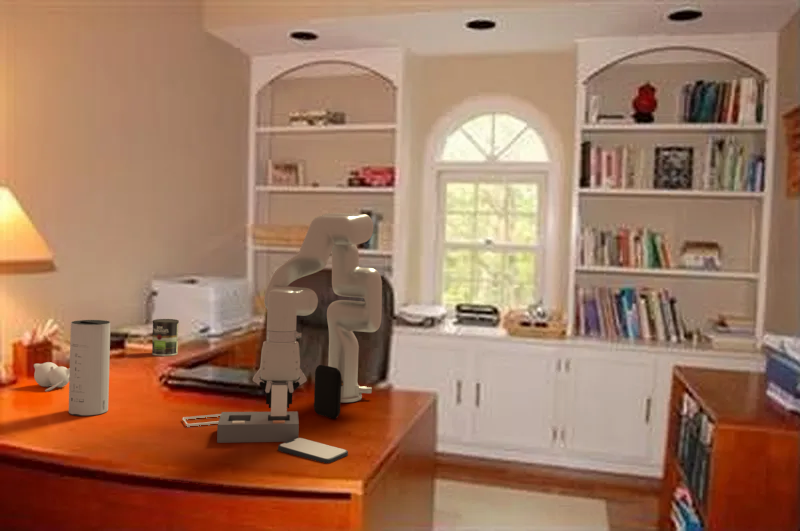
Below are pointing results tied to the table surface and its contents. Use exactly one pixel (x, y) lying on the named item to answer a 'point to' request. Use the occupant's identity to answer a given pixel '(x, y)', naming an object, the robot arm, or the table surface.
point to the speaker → (89, 367)
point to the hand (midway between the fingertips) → (278, 406)
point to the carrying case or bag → (327, 391)
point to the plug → (279, 398)
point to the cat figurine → (51, 375)
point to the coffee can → (165, 337)
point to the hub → (257, 427)
